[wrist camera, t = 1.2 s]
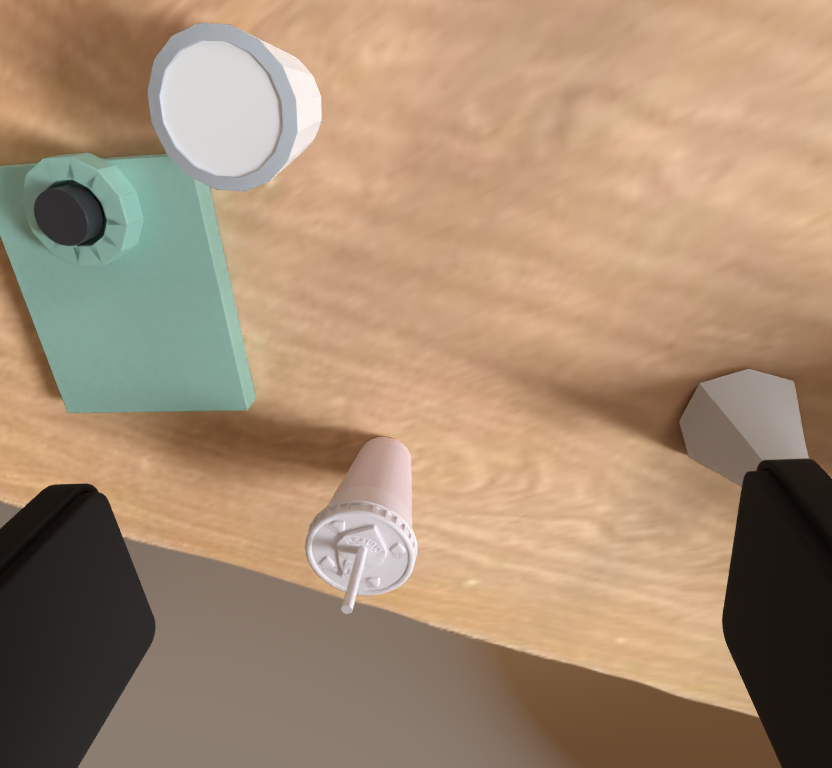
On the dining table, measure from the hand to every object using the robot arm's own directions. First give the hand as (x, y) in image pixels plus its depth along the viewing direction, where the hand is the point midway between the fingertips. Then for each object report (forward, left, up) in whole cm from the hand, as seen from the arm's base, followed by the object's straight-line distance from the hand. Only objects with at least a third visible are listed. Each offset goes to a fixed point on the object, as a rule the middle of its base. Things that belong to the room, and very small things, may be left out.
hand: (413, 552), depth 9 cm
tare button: (-1, -21, -25) cm, 33 cm away
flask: (+14, +17, -29) cm, 36 cm away
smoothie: (+17, -6, -28) cm, 34 cm away
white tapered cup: (-6, -10, -28) cm, 31 cm away
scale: (+4, -21, -28) cm, 36 cm away
